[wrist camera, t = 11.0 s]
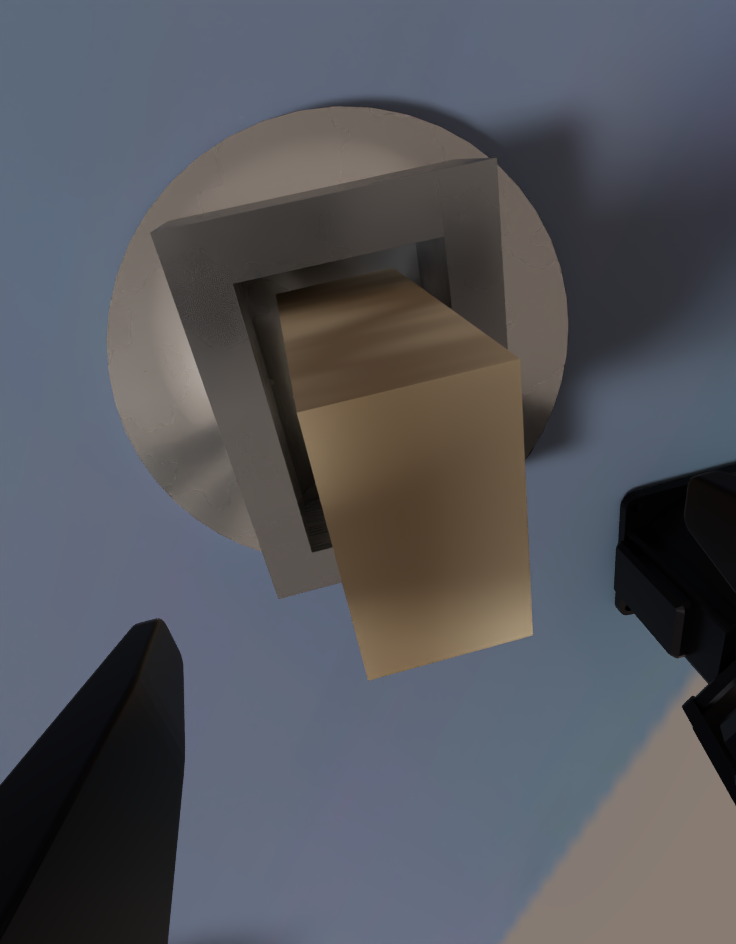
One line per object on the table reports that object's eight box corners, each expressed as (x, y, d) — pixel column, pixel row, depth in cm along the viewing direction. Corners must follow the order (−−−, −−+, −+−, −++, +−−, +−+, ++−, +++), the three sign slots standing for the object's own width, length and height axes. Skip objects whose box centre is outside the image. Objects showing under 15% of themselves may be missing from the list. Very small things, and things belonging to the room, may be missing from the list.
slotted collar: (553, 60, 15) (635, 31, 12) (558, 496, 22) (611, 553, 19) (20, 169, 14) (-48, 171, 11) (203, 589, 22) (194, 665, 18)
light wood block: (393, 267, 16) (520, 358, 9) (419, 446, 19) (533, 635, 12) (275, 293, 16) (296, 412, 8) (321, 471, 19) (368, 680, 11)
